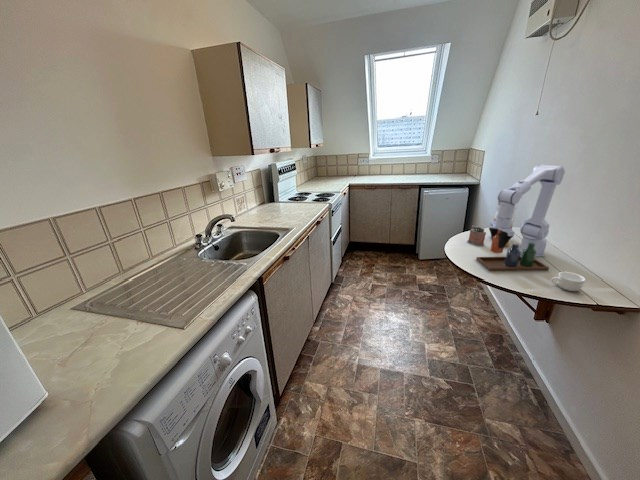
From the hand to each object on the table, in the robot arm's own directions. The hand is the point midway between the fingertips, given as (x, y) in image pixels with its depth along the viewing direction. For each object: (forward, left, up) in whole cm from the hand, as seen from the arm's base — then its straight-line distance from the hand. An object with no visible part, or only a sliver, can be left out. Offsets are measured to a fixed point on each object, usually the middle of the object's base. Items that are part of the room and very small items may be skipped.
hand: (497, 245), depth 122 cm
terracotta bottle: (0, 0, -3) cm, 3 cm away
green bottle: (-14, +1, -10) cm, 17 cm away
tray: (-7, +1, -10) cm, 12 cm away
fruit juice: (-22, -33, -10) cm, 40 cm away
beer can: (-17, -23, -10) cm, 30 cm away
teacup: (-17, +20, -10) cm, 28 cm away
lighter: (-5, -26, -10) cm, 28 cm away
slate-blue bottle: (-7, +1, -10) cm, 12 cm away
